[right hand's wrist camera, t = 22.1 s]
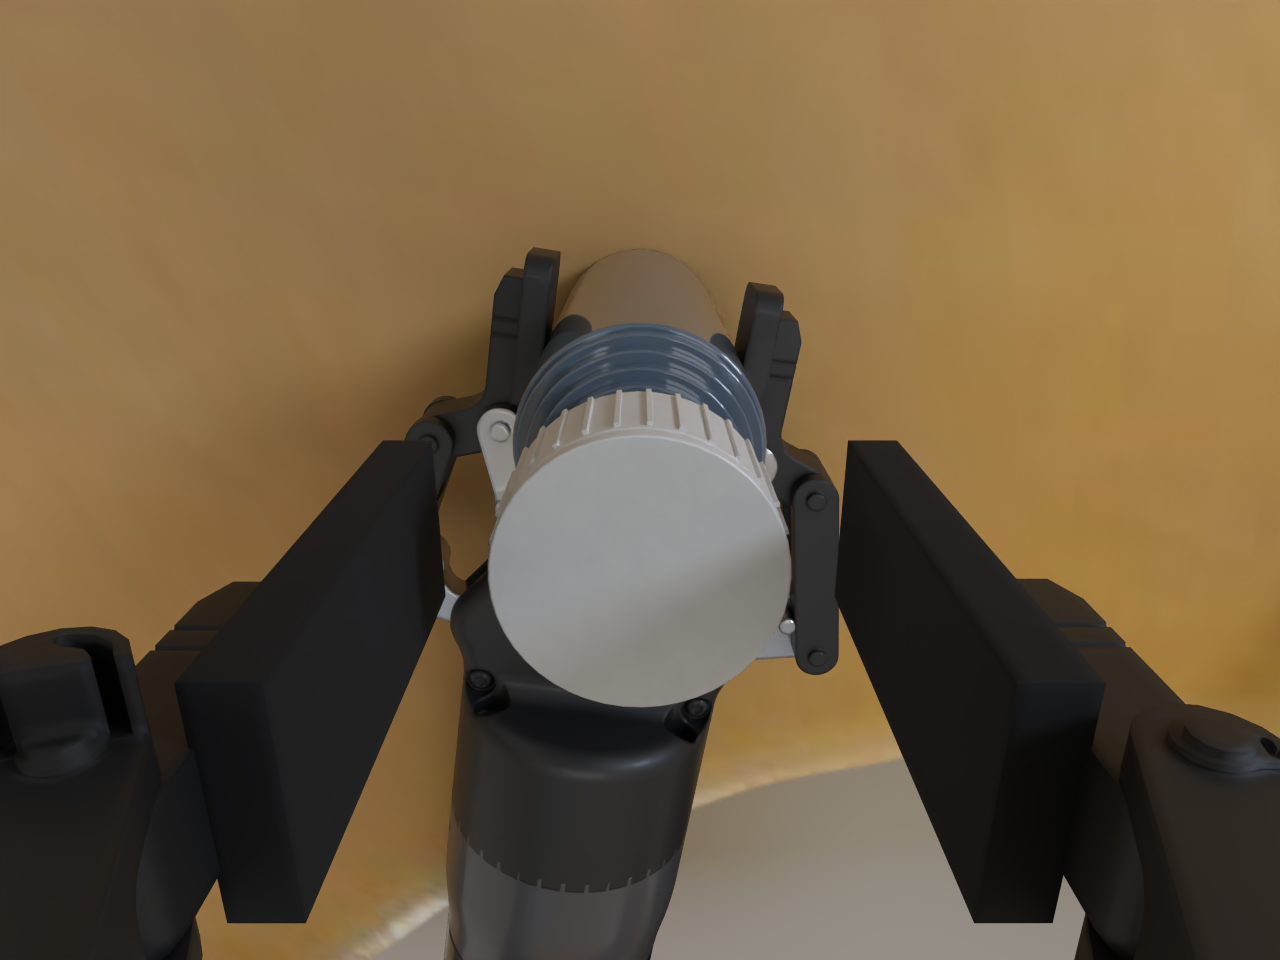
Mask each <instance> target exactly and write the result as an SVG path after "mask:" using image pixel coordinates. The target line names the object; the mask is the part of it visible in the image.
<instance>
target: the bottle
mask: <svg viewBox="0 0 1280 960" xmlns="http://www.w3.org/2000/svg"><path fill="white" fill-rule="evenodd" d="M646 389H652V392H657V393H663V394H668V395H674V396H675V393H678V394H681V398H683V399H686V400H690V401H692V402H694V403H696V404H698V405H701V406H702V404H703V403H704V404H706V405H708V408H709V410H710V411H712V412H713V413H715V414H716V415H718V416H720V417H721V418H722V419H723V420H725V421H726V420H727V419H729V420H730V421H731V422H732V425H733V428H734V429H735V430H736V431H737V432H738V433H739V434H740V435H741V437H742V438H743V439H744V440H746V439H747V438H748V439H749V440H750V442H751V444H752V447H753V450H754V452H755V455H756V458H757V460H758V462H762V461H763V463H764V464H765V459H766V446H767V439H766V426H765V422H764V417H763V412H762V409H761V406H760V404H759V401H758V398H757V396H756V393H755V391H754V389H753V387H752V385H751V383H750V380H749V378H748V376H747V374H746V372H745V370H744V367H743V365H742V363H741V361H740V359H739V357H738V354H737V352H736V350H735V348H734V346H733V344H732V341H731V339H730V337H729V335H728V333H727V331H726V328H725V326H724V324H723V322H722V320H721V318H720V315H719V313H718V311H717V309H716V307H715V305H714V303H713V300H712V298H711V296H710V294H709V292H708V290H707V288H706V286H705V285H704V283H703V282H702V281H701V279H700V278H699V277H698V275H697V274H696V273H695V272H694V271H693V270H692V269H691V268H689V267H688V266H687V265H686V264H684V263H683V262H681V261H680V260H678V259H676V258H674V257H672V256H670V255H668V254H665V253H662V252H658V251H653V250H646V249H633V250H626V251H621V252H618V253H614V254H612V255H609V256H607V257H605V258H603V259H601V260H600V261H598V262H596V263H595V264H594V265H593V266H591V267H590V268H589V269H588V270H587V271H586V272H585V273H584V274H583V275H582V276H581V277H580V278H579V280H578V281H577V282H576V284H575V285H574V287H573V289H572V291H571V293H570V295H569V297H568V299H567V301H566V303H565V305H564V308H563V310H562V312H561V314H560V316H559V318H558V320H557V323H556V325H555V327H554V329H553V331H552V333H551V336H550V338H549V340H548V342H547V344H546V346H545V349H544V351H543V353H542V355H541V357H540V359H539V362H538V364H537V366H536V368H535V370H534V372H533V374H532V377H531V379H530V381H529V383H528V385H527V387H526V390H525V392H524V394H523V397H522V399H521V402H520V404H519V407H518V410H517V414H516V418H515V422H514V430H513V457H514V463H515V468H516V467H517V464H518V461H519V459H520V456H521V453H522V451H523V449H524V448H525V447H527V448H528V449H529V447H530V445H531V444H532V443H533V442H534V440H535V439H536V438H537V436H538V433H539V430H540V428H541V427H542V426H545V427H548V426H549V425H550V424H551V423H552V422H553V421H554V420H556V419H557V418H558V417H560V416H561V413H562V411H563V410H564V409H567V410H568V411H569V410H571V409H573V408H575V407H577V406H579V405H581V404H583V403H585V402H587V400H588V398H589V397H592V396H593V398H594V399H596V398H599V397H602V396H606V395H611V394H616V390H622V393H623V392H636V391H641V392H646Z"/></svg>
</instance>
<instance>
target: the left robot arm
mask: <svg viewBox="0 0 1280 960" xmlns="http://www.w3.org/2000/svg"><path fill="white" fill-rule="evenodd" d="M559 266H560V251H554V250H548V249H541V248H535V247H533V248H532V249H531V250H530V251H529V252H528V253H527V256H526V261H525V266H524V269H518V268H511V269H510V270H509V271H508V272H507V273H506V274H505V275H504V277H503V279H502V281H501V283H500V284H499V286H498V288H497V290H496V292H495V294H494V303H493V313H492V324H491V336H490V346H489V357H488V368H487V378H486V387H485V390H484V391H482V392H481V393H479V394H477V395H473V396H468V397H463V398H458V399H457V398H455V397H451V396H442V397H438V398H436V399H435V400H433V401H432V402H431V403H430V405H429V406H428V407H427V408H426V410H425V412H424V414H423V416H422V417H421V419H419V420H418V421H416V422H415V423H414V424H413V426H412V427H411V428H410V430H409V431H408V433H407V435H406V438H405V441H432V448H433V459H434V470H435V482H436V493H437V504H438V510H439V507H440V504H441V501H442V499H443V496H444V493H445V490H446V487H447V484H448V481H449V478H450V476H451V473H452V470H453V467H454V464H455V461H456V458H457V457H459V456H464V455H469V454H474V453H480V452H483V456H484V459H485V463H486V466H487V470H488V473H489V476H490V480H491V483H492V487H493V490H494V495H495V512H497V509H498V506H499V504H500V501H501V499H502V496H503V494H504V491H505V488H506V486H507V483H508V481H509V478H510V476H511V473H512V471H515V469H516V468H515V463H514V457H513V430H514V422H515V418H516V414H517V410H518V407H519V404H520V402H521V399H522V397H523V394H524V392H525V390H526V387H527V385H528V383H529V381H530V379H531V377H532V374H533V372H534V370H535V368H536V366H537V364H538V362H539V359H540V357H541V355H542V353H543V351H544V349H545V346H546V344H547V342H548V340H549V338H550V336H551V333H552V326H553V317H554V309H555V300H556V292H557V283H558V275H559ZM783 303H784V297H783V294H782V293H781V291H780V290H779V289H778V288H777V287H776V286H772V285H765V284H759V283H753V282H749V283H748V285H747V288H746V292H745V296H744V301H743V306H742V311H741V316H740V321H739V326H738V331H737V337H736V342H735V347H734V348H735V350H736V352H737V354H738V357H739V359H740V361H741V363H742V365H743V367H744V370H745V372H746V374H747V376H748V378H749V380H750V383H751V385H752V387H753V389H754V391H755V393H756V396H757V398H758V401H759V404H760V406H761V409H762V412H763V417H764V422H765V426H766V439H767V446H766V459H765V464H764V465H765V468H766V470H767V473H768V475H769V478H770V481H771V483H772V486H773V488H774V491H775V493H776V496H777V499H778V500H779V501H780V509H781V512H782V514H783V517H784V520H785V522H786V525H787V527H788V531H789V534H787V535H786V536H787V539H788V543H789V549H790V554H791V569H792V578H791V586H790V594H789V598H788V602H787V605H786V609H785V612H784V615H783V617H782V619H781V621H780V624H779V626H778V628H777V630H776V632H775V633H774V635H773V637H772V638H771V640H770V641H769V643H768V645H767V646H766V647H765V648H764V649H763V651H762V652H761V653H760V654H759V656H758V657H757V658H756V659H755V660H758V659H773V658H788V657H795V659H796V663H797V665H798V667H799V668H800V669H801V670H802V671H804V672H805V673H808V674H811V675H820V674H824V673H826V672H828V671H830V670H831V669H832V668H833V667H834V666H835V665H836V663H837V661H838V649H839V606H838V604H837V601H836V599H835V597H834V593H835V582H836V571H837V560H838V549H839V495H838V492H837V490H836V488H835V486H834V484H833V482H832V481H831V479H830V477H829V475H828V474H827V472H826V470H825V468H824V467H823V465H822V463H821V461H820V460H819V458H818V457H817V455H816V454H814V453H813V452H811V451H809V450H805V449H798V448H796V447H794V446H792V445H791V444H789V443H787V442H785V441H784V440H783V439H782V438H781V433H782V427H783V423H784V418H785V414H786V409H787V405H788V400H789V396H790V391H791V387H792V380H793V378H794V373H795V369H796V363H797V360H798V355H799V351H800V346H801V337H800V331H799V325H798V321H797V320H796V319H795V318H794V317H793V315H792V314H791V313H790V312H789V311H783ZM440 538H441V549H442V560H443V571H444V582H445V593H446V597H445V599H444V601H443V604H442V606H441V608H440V611H439V613H438V615H437V618H440V619H443V620H446V621H449V622H450V626H451V631H452V634H453V636H454V638H455V640H456V642H457V644H458V646H459V648H460V650H461V653H462V656H463V661H464V676H463V686H462V697H461V707H460V718H459V728H458V738H457V749H456V759H455V770H454V780H453V791H452V802H451V812H450V823H449V833H448V844H447V861H446V874H447V887H448V897H449V914H448V923H447V933H446V943H445V953H444V960H650V958H651V953H652V948H653V944H654V941H655V938H656V935H657V932H658V930H659V927H660V925H661V923H662V920H663V918H664V916H665V913H666V910H667V908H668V905H669V902H670V899H671V896H672V892H673V889H674V885H675V881H676V876H677V872H678V867H679V863H680V858H681V854H682V849H683V845H684V840H685V835H686V831H687V826H688V822H689V817H690V813H691V808H692V804H693V799H694V794H695V789H696V785H697V780H698V776H699V771H700V767H701V762H702V757H703V753H704V748H705V744H706V739H707V735H708V730H709V725H710V721H711V716H712V712H713V707H714V703H715V700H716V697H717V695H718V693H719V691H720V690H721V688H722V687H723V685H724V684H723V685H722V686H720V687H718V688H716V689H715V690H713V691H710V692H708V693H706V694H703V695H701V696H699V697H696V698H693V699H689V700H686V701H683V702H679V703H674V704H669V705H663V706H653V707H623V706H617V705H610V704H604V703H600V702H597V701H593V700H589V699H586V698H583V697H581V696H578V695H576V694H573V693H571V692H569V691H567V690H565V689H563V688H561V687H559V686H558V685H556V684H554V683H552V682H551V681H549V680H548V679H547V678H545V677H544V676H542V675H541V674H540V673H538V672H537V671H536V670H535V669H534V668H533V667H532V666H530V665H529V664H528V663H527V662H526V661H525V660H524V659H523V658H522V656H521V655H520V654H519V653H518V652H517V651H516V649H515V648H514V647H513V646H512V644H511V642H510V641H509V639H508V638H507V636H506V635H505V633H504V632H503V630H502V627H501V625H500V623H499V621H498V619H497V617H496V614H495V611H494V608H493V605H492V601H491V598H490V592H489V585H488V559H487V560H486V561H485V562H484V563H483V564H482V565H481V566H480V567H479V568H478V569H477V570H476V571H475V572H474V573H473V574H472V575H471V576H470V577H469V578H468V579H467V580H466V581H464V580H461V579H460V578H458V577H457V576H456V575H455V574H454V573H453V571H452V570H451V567H450V562H449V560H450V554H451V551H450V546H449V544H448V542H447V541H446V540H445V539H444V538H443V537H442V536H441V535H440Z"/></svg>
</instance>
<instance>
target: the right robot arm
mask: <svg viewBox="0 0 1280 960" xmlns="http://www.w3.org/2000/svg"><path fill="white" fill-rule="evenodd" d="M445 597H446V593H445V582H444V571H443V560H442V549H441V538H440V526H439V515H438V504H437V493H436V482H435V470H434V459H433V448H432V441H382V442H381V444H380V445H379V446H378V447H377V448H376V449H375V450H374V452H373V453H372V454H371V455H370V456H369V457H368V459H367V460H366V461H365V462H364V463H363V464H362V466H361V467H360V468H359V469H358V470H357V471H356V473H355V474H354V475H353V476H352V477H351V478H350V479H349V481H348V482H347V483H346V484H345V485H344V486H343V488H342V489H341V490H340V491H339V492H338V493H337V495H336V496H335V497H334V498H333V499H332V500H331V502H330V503H329V504H328V505H327V506H326V507H325V508H324V510H323V511H322V512H321V513H320V514H319V515H318V517H317V518H316V519H315V520H314V521H313V522H312V524H311V525H310V526H309V527H308V528H307V529H306V531H305V532H304V533H303V534H302V535H301V536H300V537H299V539H298V540H297V541H296V542H295V543H294V544H293V546H292V547H291V548H290V549H289V550H288V551H287V553H286V554H285V555H284V556H283V557H282V558H281V560H280V561H279V562H278V563H277V564H276V565H275V567H274V568H273V569H272V570H271V571H270V572H269V573H268V575H267V576H266V577H265V578H264V579H263V580H262V582H232V583H230V584H228V585H227V586H225V587H223V588H221V589H220V590H218V591H216V592H214V593H212V594H211V595H209V596H207V597H205V598H203V599H202V600H200V601H198V602H197V603H196V604H195V605H194V606H193V607H192V608H191V609H190V610H189V611H188V612H187V613H186V614H185V615H184V616H183V617H182V618H181V619H180V620H179V621H178V622H177V624H176V625H175V628H174V630H170V631H169V632H168V633H167V634H166V635H165V636H164V637H163V638H162V639H161V640H160V641H159V642H158V643H157V644H156V645H155V647H156V648H155V651H150V652H149V653H148V654H147V655H146V656H145V657H144V658H143V659H142V660H141V661H140V662H139V663H138V664H137V665H136V666H135V663H134V659H133V655H132V651H131V647H130V643H129V639H127V638H126V637H124V636H123V635H121V634H120V633H118V632H117V631H115V630H110V629H104V628H97V627H77V628H62V629H57V630H52V631H47V632H43V633H38V634H34V635H29V636H26V637H23V638H20V639H17V640H15V641H12V642H9V643H7V644H4V645H1V646H0V960H202V947H201V940H200V934H199V930H198V926H197V922H196V917H195V916H196V914H197V913H198V911H199V909H200V907H201V906H202V904H203V902H204V900H205V899H206V897H207V895H208V893H209V892H210V890H211V888H212V886H213V885H214V883H215V881H216V879H218V883H219V888H220V892H221V897H222V901H223V906H224V910H225V915H226V919H227V923H306V921H307V919H308V917H309V914H310V912H311V910H312V907H313V905H314V903H315V900H316V898H317V896H318V893H319V891H320V889H321V886H322V884H323V882H324V879H325V877H326V875H327V872H328V870H329V868H330V865H331V863H332V861H333V858H334V856H335V854H336V851H337V849H338V847H339V844H340V842H341V840H342V837H343V835H344V833H345V830H346V828H347V826H348V823H349V821H350V819H351V816H352V814H353V812H354V809H355V807H356V805H357V802H358V800H359V798H360V795H361V793H362V790H363V788H364V786H365V783H366V781H367V779H368V776H369V774H370V772H371V769H372V767H373V765H374V762H375V760H376V758H377V755H378V753H379V751H380V748H381V746H382V744H383V741H384V739H385V737H386V734H387V732H388V730H389V727H390V725H391V723H392V720H393V718H394V716H395V713H396V711H397V709H398V706H399V704H400V702H401V699H402V697H403V695H404V692H405V690H406V688H407V685H408V683H409V681H410V678H411V676H412V674H413V671H414V669H415V667H416V664H417V662H418V660H419V657H420V655H421V653H422V650H423V648H424V646H425V643H426V641H427V639H428V636H429V634H430V632H431V629H432V627H433V625H434V622H435V620H436V618H437V615H438V613H439V611H440V608H441V606H442V604H443V601H444V599H445ZM834 597H835V599H836V601H837V604H838V606H839V608H840V611H841V613H842V615H843V618H844V620H845V622H846V625H847V627H848V629H849V632H850V634H851V636H852V639H853V641H854V643H855V646H856V648H857V650H858V653H859V655H860V657H861V660H862V662H863V664H864V667H865V669H866V671H867V674H868V676H869V678H870V681H871V683H872V685H873V688H874V690H875V692H876V695H877V697H878V699H879V702H880V704H881V706H882V709H883V711H884V713H885V716H886V718H887V720H888V723H889V725H890V727H891V730H892V732H893V734H894V737H895V739H896V741H897V744H898V746H899V748H900V751H901V753H902V755H903V758H904V760H905V762H906V765H907V767H908V769H909V772H910V774H911V776H912V779H913V781H914V783H915V786H916V788H917V791H918V793H919V795H920V797H921V800H922V802H923V804H924V807H925V809H926V811H927V814H928V816H929V818H930V821H931V823H932V825H933V828H934V830H935V833H936V835H937V837H938V839H939V842H940V844H941V847H942V849H943V851H944V854H945V856H946V858H947V860H948V863H949V865H950V868H951V870H952V872H953V874H954V877H955V879H956V882H957V884H958V886H959V888H960V891H961V893H962V895H963V898H964V900H965V903H966V905H967V907H968V910H969V912H970V914H971V917H972V919H973V921H974V923H1053V919H1054V915H1055V910H1056V906H1057V901H1058V897H1059V892H1060V888H1061V883H1062V879H1063V875H1064V877H1065V878H1066V880H1067V882H1068V883H1069V885H1070V887H1071V889H1072V890H1073V892H1074V894H1075V896H1076V897H1077V899H1078V901H1079V902H1080V904H1081V906H1082V908H1083V909H1084V911H1085V917H1084V922H1083V926H1082V930H1081V934H1080V939H1079V943H1078V947H1077V951H1076V955H1075V959H1074V960H1280V739H1279V738H1278V737H1276V736H1275V735H1273V734H1272V733H1270V732H1269V731H1267V730H1266V729H1264V728H1263V727H1261V726H1258V725H1256V724H1254V723H1251V722H1249V721H1247V720H1244V719H1242V718H1240V717H1238V716H1235V715H1233V714H1230V713H1226V712H1223V711H1219V710H1215V709H1211V708H1207V707H1203V706H1199V705H1188V704H1185V703H1184V702H1183V701H1182V700H1181V699H1180V698H1179V697H1178V696H1177V695H1176V694H1175V693H1174V692H1173V691H1172V690H1171V689H1170V688H1169V687H1168V686H1167V685H1166V683H1165V682H1164V681H1163V680H1162V679H1161V678H1160V677H1159V676H1158V675H1157V674H1156V673H1155V672H1154V671H1153V670H1152V669H1151V668H1150V667H1149V666H1148V665H1147V664H1146V663H1145V662H1144V661H1143V660H1142V659H1141V658H1140V657H1139V656H1138V655H1137V654H1136V653H1135V652H1134V651H1133V650H1132V648H1131V647H1126V646H1125V641H1124V640H1123V639H1122V638H1121V637H1120V636H1119V635H1118V634H1117V633H1116V632H1115V631H1114V630H1113V629H1112V628H1111V627H1106V622H1105V621H1104V620H1103V619H1102V618H1101V617H1100V616H1099V615H1098V613H1097V612H1096V611H1095V610H1094V609H1093V608H1092V607H1091V606H1090V605H1089V604H1088V603H1087V602H1086V601H1085V600H1084V599H1083V598H1081V597H1079V596H1077V595H1075V594H1074V593H1072V592H1070V591H1068V590H1066V589H1065V588H1063V587H1061V586H1059V585H1057V584H1056V583H1054V582H1052V581H1050V580H1048V579H1016V578H1015V577H1014V576H1013V575H1012V573H1011V572H1010V571H1009V570H1008V569H1007V568H1006V567H1005V565H1004V564H1003V563H1002V562H1001V561H1000V560H999V558H998V557H997V556H996V555H995V554H994V553H993V551H992V550H991V549H990V548H989V547H988V546H987V544H986V543H985V542H984V541H983V540H982V539H981V537H980V536H979V535H978V534H977V533H976V532H975V531H974V529H973V528H972V527H971V526H970V525H969V524H968V522H967V521H966V520H965V519H964V518H963V517H962V515H961V514H960V513H959V512H958V511H957V510H956V508H955V507H954V506H953V505H952V504H951V503H950V502H949V500H948V499H947V498H946V497H945V496H944V495H943V493H942V492H941V491H940V490H939V489H938V488H937V486H936V485H935V484H934V483H933V482H932V481H931V479H930V478H929V477H928V476H927V475H926V474H925V473H924V471H923V470H922V469H921V468H920V467H919V466H918V464H917V463H916V462H915V461H914V460H913V459H912V457H911V456H910V455H909V454H908V453H907V452H906V450H905V449H904V448H903V447H902V446H901V445H900V444H899V442H898V441H848V448H847V459H846V470H845V482H844V493H843V504H842V515H841V526H840V538H839V549H838V560H837V571H836V582H835V593H834Z"/></svg>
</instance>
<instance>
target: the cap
mask: <svg viewBox="0 0 1280 960" xmlns="http://www.w3.org/2000/svg"><path fill="white" fill-rule="evenodd" d="M779 506H780V504H779V501H778V499H777V496H776V493H775V491H774V488H773V486H772V483H771V481H770V478H769V475H768V473H767V470H766V468H765V465H764V463H763V461H762V462H758V460H757V458H756V455H755V452H754V450H753V447H752V444H751V442H750V440H749V439H748V438H747V439H746V440H744V439H743V438H742V437H741V435H740V434H739V433H738V432H737V431H736V430H735V429H734V428H733V425H732V422H731V421H730V420H729V419H727V420H726V421H725V420H723V419H722V418H721V417H720V416H718V415H716V414H715V413H713V412H712V411H710V410H709V408H708V405H706V404H704V403H703V404H702V406H701V405H698V404H696V403H694V402H692V401H690V400H686V399H683V398H681V394H678V393H675V396H674V395H668V394H663V393H657V392H652V389H646V392H641V391H636V392H623V393H622V390H616V394H611V395H606V396H602V397H599V398H596V399H594V398H593V396H592V397H589V398H588V400H587V402H585V403H583V404H581V405H579V406H577V407H575V408H573V409H571V410H569V411H568V410H567V409H564V410H563V411H562V413H561V416H560V417H558V418H557V419H556V420H554V421H553V422H552V423H551V424H550V425H549V426H548V427H545V426H542V427H541V428H540V430H539V433H538V436H537V438H536V439H535V440H534V442H533V443H532V444H531V445H530V447H529V449H528V448H527V447H525V448H524V449H523V451H522V453H521V456H520V459H519V461H518V464H517V467H516V469H515V471H512V473H511V476H510V478H509V481H508V483H507V486H506V488H505V491H504V494H503V496H502V499H501V501H500V504H499V506H498V509H497V512H496V514H495V517H497V520H496V523H495V526H494V528H493V531H492V534H491V536H490V539H489V545H490V549H489V557H488V585H489V592H490V598H491V601H492V605H493V608H494V611H495V614H496V617H497V619H498V621H499V623H500V625H501V627H502V630H503V632H504V633H505V635H506V636H507V638H508V639H509V641H510V642H511V644H512V646H513V647H514V648H515V649H516V651H517V652H518V653H519V654H520V655H521V656H522V658H523V659H524V660H525V661H526V662H527V663H528V664H529V665H530V666H532V667H533V668H534V669H535V670H536V671H537V672H538V673H540V674H541V675H542V676H544V677H545V678H547V679H548V680H549V681H551V682H552V683H554V684H556V685H558V686H559V687H561V688H563V689H565V690H567V691H569V692H571V693H573V694H576V695H578V696H581V697H583V698H586V699H589V700H593V701H597V702H600V703H604V704H610V705H617V706H623V707H653V706H663V705H669V704H674V703H679V702H683V701H686V700H689V699H693V698H696V697H699V696H701V695H703V694H706V693H708V692H710V691H713V690H715V689H716V688H718V687H720V686H722V685H723V684H725V683H727V682H729V681H730V680H731V679H733V678H734V677H735V676H737V675H738V674H739V673H741V672H742V671H743V670H745V669H746V668H747V667H748V666H749V665H750V664H751V663H752V662H753V661H754V660H755V659H756V658H757V657H758V656H759V654H760V653H761V652H762V651H763V649H764V648H765V647H766V646H767V645H768V643H769V641H770V640H771V638H772V637H773V635H774V633H775V632H776V630H777V628H778V626H779V624H780V621H781V619H782V617H783V615H784V612H785V609H786V605H787V602H788V598H789V594H790V586H791V578H792V569H791V554H790V549H789V543H788V539H787V536H786V535H787V534H789V531H788V527H787V525H786V522H785V520H784V517H783V514H782V512H781V509H780V507H779Z"/></svg>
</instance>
